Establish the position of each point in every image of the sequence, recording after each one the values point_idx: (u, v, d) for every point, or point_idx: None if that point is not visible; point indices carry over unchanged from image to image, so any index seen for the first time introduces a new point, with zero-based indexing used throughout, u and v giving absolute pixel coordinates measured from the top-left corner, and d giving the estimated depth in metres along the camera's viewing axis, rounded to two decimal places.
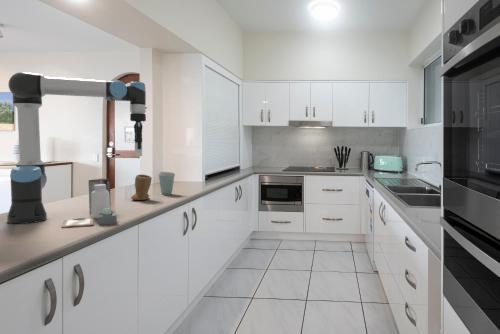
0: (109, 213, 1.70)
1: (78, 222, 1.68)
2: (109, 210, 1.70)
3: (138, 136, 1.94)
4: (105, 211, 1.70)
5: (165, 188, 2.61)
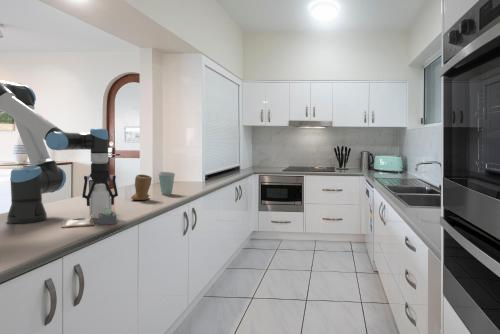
0: (109, 213, 1.70)
1: (78, 222, 1.68)
2: (109, 210, 1.70)
3: None
4: (105, 211, 1.70)
5: (165, 188, 2.61)
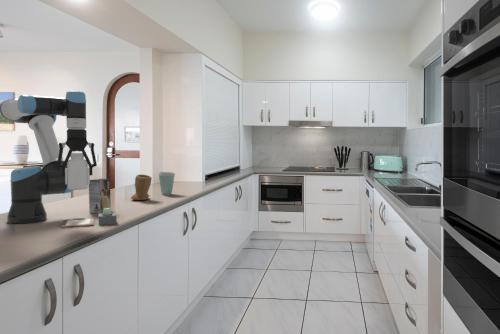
0: (109, 213, 1.70)
1: (78, 222, 1.68)
2: (109, 210, 1.70)
3: (58, 161, 1.66)
4: (105, 211, 1.70)
5: (165, 188, 2.61)
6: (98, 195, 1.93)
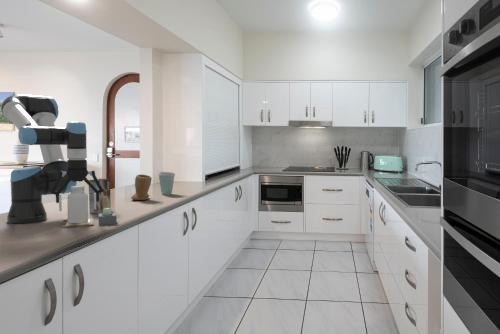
0: (109, 213, 1.70)
1: None
2: (109, 210, 1.70)
3: (53, 187, 1.65)
4: (105, 211, 1.70)
5: (165, 188, 2.61)
6: None
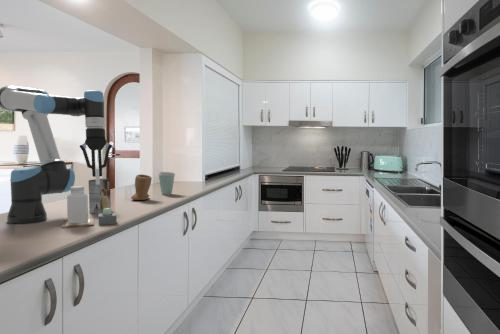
0: (109, 213, 1.70)
1: None
2: (109, 210, 1.70)
3: None
4: (105, 211, 1.70)
5: (165, 188, 2.61)
6: (98, 195, 1.93)
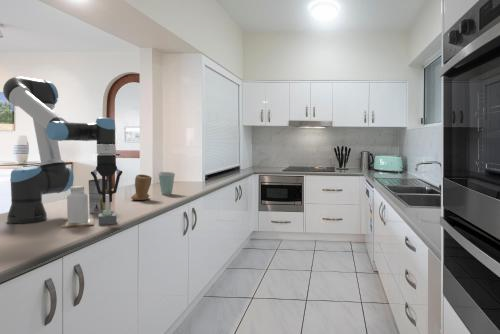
0: None
1: None
2: (109, 212, 1.70)
3: None
4: (105, 213, 1.70)
5: (165, 188, 2.61)
6: (98, 195, 1.93)
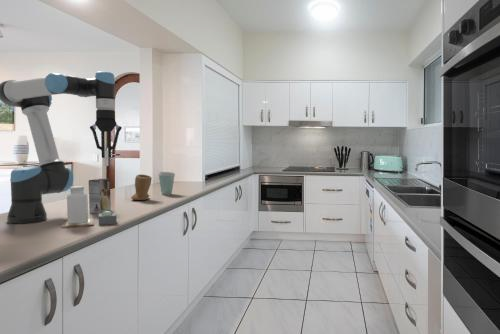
0: None
1: None
2: (109, 213, 1.70)
3: None
4: (105, 214, 1.70)
5: (165, 188, 2.61)
6: (98, 195, 1.93)
